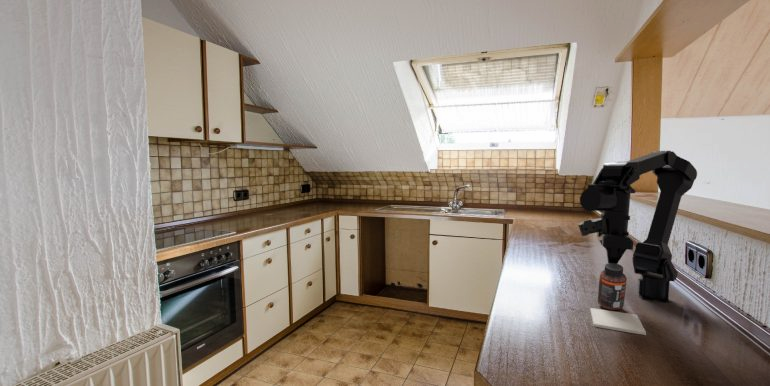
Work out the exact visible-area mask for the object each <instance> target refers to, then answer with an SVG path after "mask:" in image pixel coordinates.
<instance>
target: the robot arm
mask: <svg viewBox="0 0 770 386" xmlns="http://www.w3.org/2000/svg"><path fill="white" fill-rule="evenodd" d="M650 172H652V173H653V175H654V176H655V177H656V184H657V186H658V189H659V192H660V193H659V196H658V200H657V202H656V205H655V206H656V207H655V210H654V214H653V216H652V220H651V224H650V227H649V230H648V234H647V237H646V239H644V241H643V242H637V243H636V244H635V249H634V241H633V240H632V239H631V238H630V236H629V231H628V228H629V221H630V220H631V216H630V215H629V214H630V204H631V194H635V193H636V191H637V190H635V188H633V187H632V186H631V185H633V184H634V183H635V182H637V181H639V180H640V177H641V176H642V175H643V174H646V173H650ZM697 176H698V171H697V169H696V168H695V167H694V165H693V164H692V163H691V161H689V160H686V159H684V158H682V157H680V156H678V155H677V153H675V151H671V150H654V151H652V152H650V153H648V154H645V155H642V156H638V157H636V158H633V159H631V160H628V161H611V162H610V161H609V162H605V163H604V164H603V165H602V168H601V169H600V170H599V173H598V175H597V176H596V177H595V179H594V181H593V183H588V184H587V188H586V189H585V190H583V191H582V193H581V195H580V196H579V204H580V206H581V207H582V208H583V210H585V211H587V212H602V213H600V217H599V218H593V219H590V218H589V219H586V220H585V219H584V220H583V221H581V222H578V223H577V226H578V228H579V231H580V235H581V236H582V237H585V236H588V235H591V234H596V233H597V237H599V238H601V239H599V242H600V245H601V246H602V247H603V248H605V252H606V259H607V263H616V264H619V262H620V260H621V259H622V257H623V256H624V254H625V253H626V251H627V250H634V252H633V253H632V265H633V271H634V274H637V275H640V276H639V277H640V278H638V279H637V294H638V295H639V296H640V298H641V299H642V300H646V301H652V302H653V301H655V302H662V303H671V300H670V298H669V297H670V284H671V283H670V282H675V281H676V280H677V278H678V273H679V272H678V271H677V268H675V266H674V264H673V262H672V258H673V255H672V252H671V250H670V247H669V241H670V238H671V234H672V230H673V227H674V224H675V220H676V217H677V214H678V210H679V206H680V203H681V200H682V196H684V195H685V194H686V193H687V192H689V191H690V190H691V189H692V188H693V186H694V183H695V180H696V179H697ZM601 236H602V237H601Z"/></svg>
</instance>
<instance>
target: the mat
mask: <svg viewBox="0 0 770 386" xmlns="http://www.w3.org/2000/svg"><path fill="white" fill-rule="evenodd" d="M589 309H590V310H589V311H590V314H591V320H592V325H593V327H596V328H601V329H607V330H613V331H619V332H620V331H621V332H627V333H630V334H637V335H644V336H647V331H646V329H645V328H644V326H643V324H642V322H641V320H640V318H639V317H638V315H637V314H633V313H626V312H620V311H615V310H609V309H600V308H594V307H590V308H589Z"/></svg>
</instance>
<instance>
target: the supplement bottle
mask: <svg viewBox="0 0 770 386" xmlns="http://www.w3.org/2000/svg"><path fill="white" fill-rule="evenodd" d="M598 280H599V281H598V290H597V291H598V292H597V303H598V305H599V306H601V308H604V309H605V310H609V311H619V310H622V309H623V308H624V305H625V299H626V297H625V296H626V289H627V275H626V274H624V267H623V266H622V264H619V263H617V264H616V263H608V262H607V263H606V264H605V265H604V269H603V270H602V271H601V272H600V273H599V279H598Z"/></svg>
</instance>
